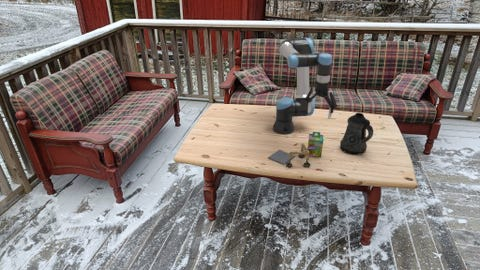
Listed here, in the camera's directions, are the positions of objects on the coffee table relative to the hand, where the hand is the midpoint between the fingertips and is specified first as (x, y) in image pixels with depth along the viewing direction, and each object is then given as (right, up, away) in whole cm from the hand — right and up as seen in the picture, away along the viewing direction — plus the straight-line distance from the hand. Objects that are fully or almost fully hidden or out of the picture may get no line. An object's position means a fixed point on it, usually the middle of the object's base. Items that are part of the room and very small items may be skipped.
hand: (319, 115), depth 203 cm
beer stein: (+27, -22, +16) cm, 38 cm away
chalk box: (0, -24, +12) cm, 27 cm away
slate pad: (-22, -26, +8) cm, 35 cm away
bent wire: (-11, -29, +2) cm, 31 cm away
